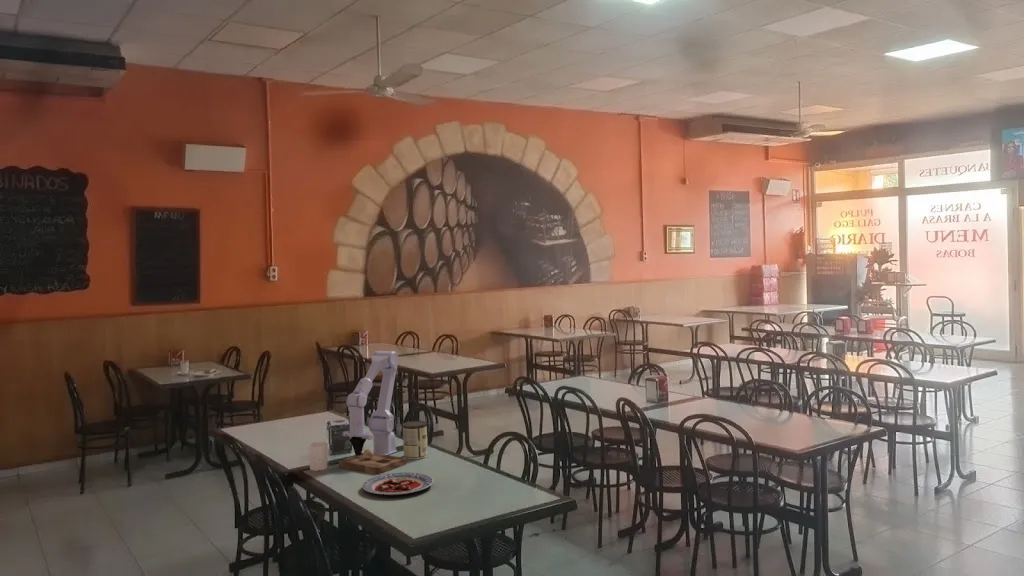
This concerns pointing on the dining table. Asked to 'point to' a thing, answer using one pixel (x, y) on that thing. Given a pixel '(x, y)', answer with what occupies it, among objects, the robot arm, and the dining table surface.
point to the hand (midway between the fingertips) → (358, 455)
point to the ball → (368, 454)
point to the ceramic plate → (397, 483)
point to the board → (372, 463)
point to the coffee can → (415, 440)
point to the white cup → (318, 455)
